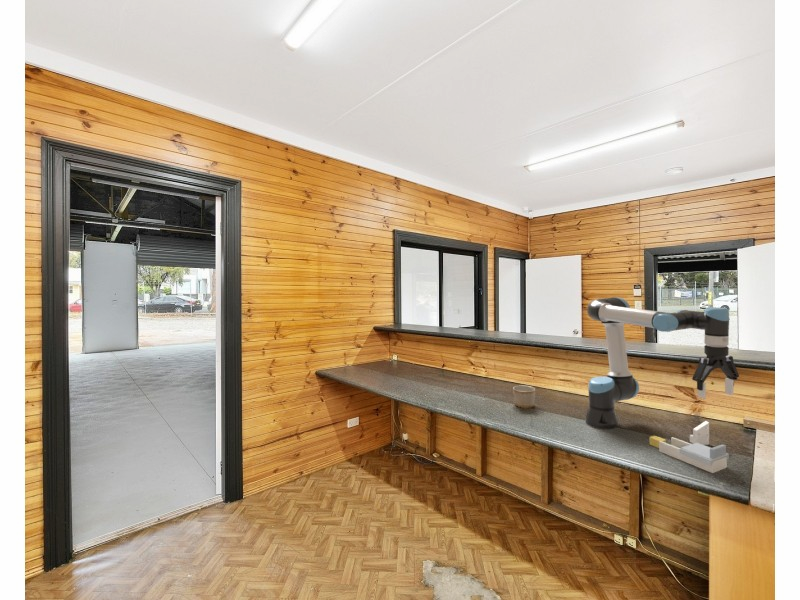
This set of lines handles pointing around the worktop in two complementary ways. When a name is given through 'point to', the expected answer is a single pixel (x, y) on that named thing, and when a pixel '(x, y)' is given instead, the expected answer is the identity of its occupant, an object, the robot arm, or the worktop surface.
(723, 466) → the long white channel rail
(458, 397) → the worktop surface
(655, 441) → the mustard yellow cuboid
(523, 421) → the worktop surface
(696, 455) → the cover
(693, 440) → the white angled block
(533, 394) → the planter
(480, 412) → the worktop surface
